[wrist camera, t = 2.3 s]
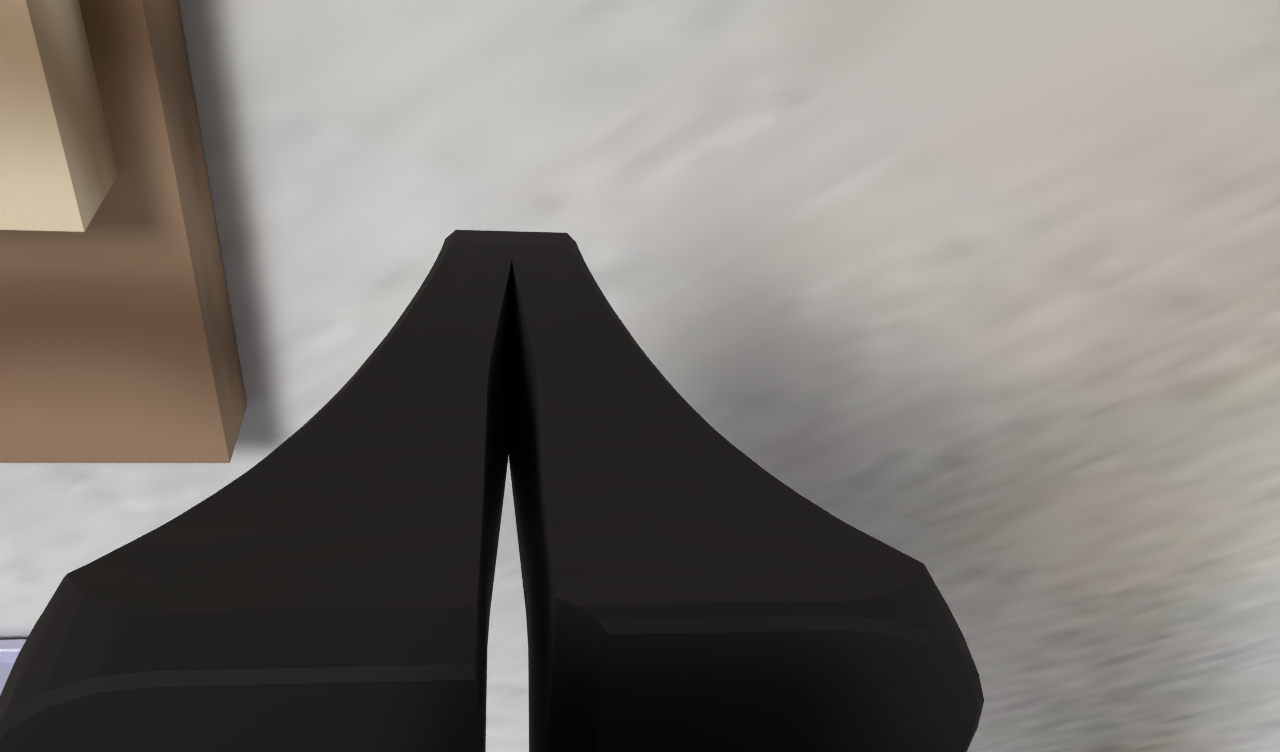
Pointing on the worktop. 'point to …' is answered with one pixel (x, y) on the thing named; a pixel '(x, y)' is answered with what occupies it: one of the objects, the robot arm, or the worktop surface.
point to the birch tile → (50, 120)
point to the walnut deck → (126, 280)
